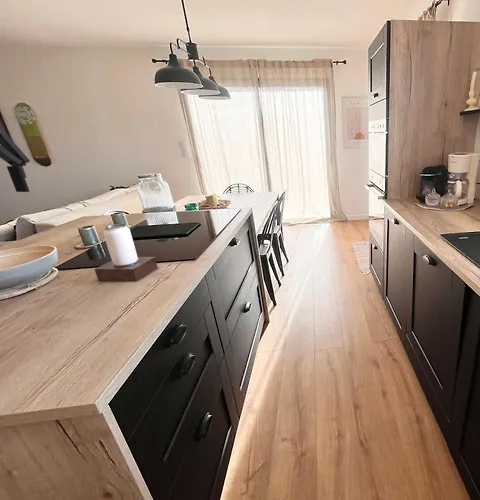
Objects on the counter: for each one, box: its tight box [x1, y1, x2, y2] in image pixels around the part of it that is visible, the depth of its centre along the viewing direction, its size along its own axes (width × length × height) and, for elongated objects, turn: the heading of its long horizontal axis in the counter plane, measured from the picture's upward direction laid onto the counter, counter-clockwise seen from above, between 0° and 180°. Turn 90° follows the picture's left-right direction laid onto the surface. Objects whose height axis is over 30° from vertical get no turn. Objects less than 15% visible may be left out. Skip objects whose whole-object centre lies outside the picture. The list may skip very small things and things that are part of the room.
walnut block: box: [94, 256, 159, 282], centre depth 92 cm, size 12×10×4 cm
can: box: [103, 223, 139, 266], centre depth 89 cm, size 6×6×12 cm
